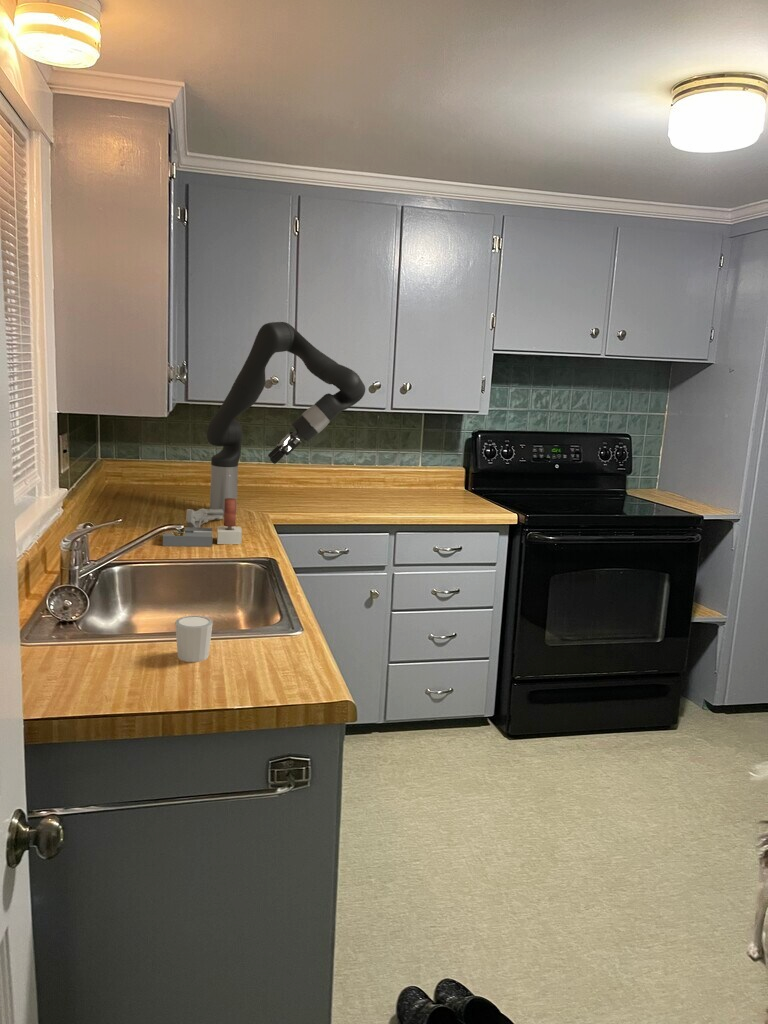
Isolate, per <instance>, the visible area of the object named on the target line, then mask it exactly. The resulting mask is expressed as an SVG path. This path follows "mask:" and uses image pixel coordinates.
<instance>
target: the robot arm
mask: <svg viewBox="0 0 768 1024" xmlns="http://www.w3.org/2000/svg"><path fill="white" fill-rule="evenodd" d="M283 352H288V353H291V354H292V355H295V356H296V357H298V358H299V359H301V361H302V362H303V364H304V366H305V367H306V369H307V370H308V371H309V372H310V373H311V374H312V375H313V376H315V377H316V378H318V379H319V380H320V381H322V382H323V383H326V384H328V385H333V386H334V387H336V388H337V389H338V391H337V392H335V393H334V394H331V393H325V394H324V395H322V397H320V398H319V400H317V401H316V402H315V403H314V404H313V405H311V406H310V407H308V408H307V409H306V410H305V411H304V412H303V413H301V415H299V416H298V417H297V418H296V419H295V420H294V421H292V422H291V426H292V427H293V429H294V431H291V430H290V431H289V433H288V434H286V435H285V436H284V437H283V438H282V439H281V440H280V441H278V442H277V444H276V447H274V448H273V449H272V450H271V451H270V452H268V454H267V456H268V458H269V460H270V462H271V463H273V464H274V465H276V464H277V463H278V462H279V461H280V460H281V459H283V458H284V457H286V456H289V455H290V454H291V452H293V451H294V450H295V449H296V448H297V447H298V446H299V445H301V443H302V441H301V440H302V439H303V440H304V441H305V442H306V443H310V442H311V441H312V440H313V439H314V438H315V437H316V436H318V435H319V433H321V432H322V431H323V430H324V429H325V428H326V427H327V426H328V424H329V423H330V422H332V420H334V419H335V418H336V417H337V416H338V415H339V414H340V413H342V412H343V411H346V410H347V409H349V408H351V407H353V406H354V405H356V404H357V403H359V402H360V401H361V400H362V399H363V397H364V396H365V393H366V386H365V384H364V383H363V381H362V379H361V376H360V375H359V374H358V373H357V372H356V371H355V370H352V369H351V368H349V367H347V366H345V365H342V364H340V363H338V362H337V361H336V360H334V359H332V358H331V357H329V356H328V355H326V354H325V353H323V352H322V351H321V350H319V349H317V348H316V347H315V346H314V345H313V344H312V343H311V342H309V340H307V339H306V338H305V337H304V336H303V335H302V334H301V333H300V332H299V331H298V330H297V328H295V327H293V326H292V325H291V324H290V323H288V322H285V321H275V322H267V323H264V324H262V326H261V327H260V328H259V330H258V332H257V334H256V336H255V339H254V342H253V344H252V347H251V349H250V352H249V354H248V356H247V358H246V360H245V362H244V364H243V365H242V368H241V370H240V372H239V373H238V375H237V376H236V379H235V380H234V382H233V384H232V386H231V388H230V391H229V392H228V394H227V396H226V397H225V399H224V400H223V402H222V404H221V406H220V407H219V408H218V410H217V411H216V413H215V414H214V416H213V417H212V418H211V420H210V421H209V423H208V426H207V428H206V440H207V442H208V443H209V444H210V445H212V446H214V447H222V449H221V450H220V451H219V452H218V453H216V454H214V455H212V456H211V460H210V491H209V492H210V497H209V509H212V510H213V509H222V510H223V513H222V514H212V515H223V517H224V508H225V499H226V498H234V499H236V512H237V507H238V480H239V479H238V477H239V461H240V459H241V453H242V452H241V451H242V441H243V428H242V426H241V423H240V422H239V420H237V417H239V416H240V415H241V414H243V413H244V412H246V411H247V410H248V409H249V408H251V407H252V406H253V405H254V404H255V403H256V402H257V401H258V399H259V398H260V396H261V394H262V392H263V391H264V388H265V386H266V369H267V368H266V367H267V365H268V363H269V362H270V359H271V358H272V357H273V356H274V354H276V353H283Z"/></svg>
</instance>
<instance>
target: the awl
mask: <svg viewBox="0 0 768 1024" xmlns="http://www.w3.org/2000/svg"><path fill="white" fill-rule="evenodd" d="M236 519H237V511H236V499H234V498H226V499H225V508H224V516H223V526H226V527H228V528H227V530H232V527H236V523H237V522H236V521H237V520H236Z"/></svg>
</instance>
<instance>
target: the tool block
mask: <svg viewBox="0 0 768 1024" xmlns="http://www.w3.org/2000/svg"><path fill="white" fill-rule="evenodd" d="M227 528H228V526H224V525H223V526H222V525H221V526H220V525H219V526H217V528H216V529H217V530H216V533H217V535H216V541H217V542H216V543H217V544H231V545H230V546H233V545H232V544H241V545H242V542H243V541H242V538H243V535H242V534H243V532H242V526H233V527H232V530H227Z"/></svg>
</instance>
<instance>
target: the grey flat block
mask: <svg viewBox="0 0 768 1024" xmlns="http://www.w3.org/2000/svg"><path fill="white" fill-rule="evenodd" d="M184 527H185V533H184V535H183V536H175V535H174V534H172V533H165V534H162V546H163V547H193V548H194V547H199V548H200V547H203V548H204V547H205V548H211V546H212V547H213V541H214V540H213V539H214V538H213V533H214V532H213V527H205V526H204V527H203V526H202V527H201V526H200V527H190V526H184ZM209 546H210V547H209Z"/></svg>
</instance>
